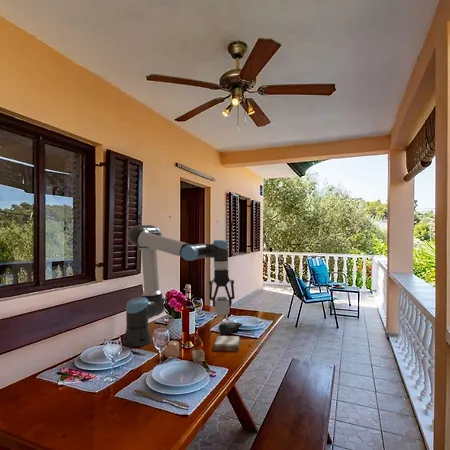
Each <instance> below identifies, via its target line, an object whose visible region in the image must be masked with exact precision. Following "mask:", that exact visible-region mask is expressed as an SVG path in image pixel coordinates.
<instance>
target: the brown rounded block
mask: <svg viewBox="0 0 450 450" xmlns="http://www.w3.org/2000/svg"><path fill="white" fill-rule="evenodd" d="M168 341H169V343H168V345H167V347H166V348H165V347H164V357H165V358H166V357H167V358H166V359H170V358H169V357H173V358H172V359H175V358H179V356H180V342H179V341H177V340H168Z"/></svg>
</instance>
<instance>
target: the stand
mask: <svg viewBox="0 0 450 450" xmlns="http://www.w3.org/2000/svg"><path fill="white" fill-rule="evenodd" d="M240 346H241V337H240V336H239V335H238V336H237V335H236V336H234V335H224V336H220V335H217V337H216V338H215V340H214V343H213V349H212V350H213V351H229V352H230V351H231V352H233V351H235V352H239V351H240Z"/></svg>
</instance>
